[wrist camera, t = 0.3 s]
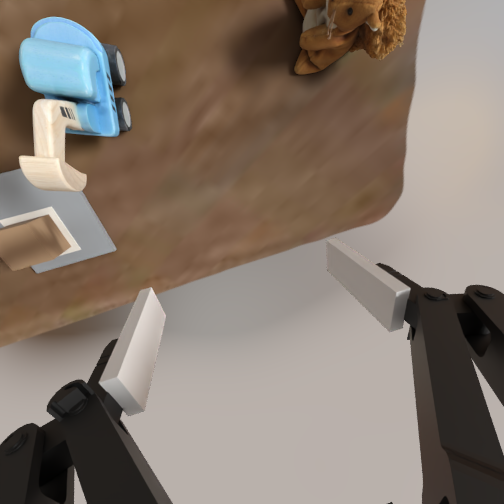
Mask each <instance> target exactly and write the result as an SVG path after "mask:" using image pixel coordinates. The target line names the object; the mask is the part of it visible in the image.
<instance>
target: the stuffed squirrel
mask: <svg viewBox="0 0 504 504" xmlns="http://www.w3.org/2000/svg"><path fill="white" fill-rule="evenodd" d="M405 1H406V0H295V2H296V4H297V6H298V8H299V10H300V12H301V14H302V16H303V17H304V22H303V33H302V34H301V36H300V43H299V44H300V47H301V48H303V49H302V51H301V53H300V55H299V57H298V59H297V62H296V65H295V68H294V70H295V72H296V73H297V74H301V75H302V74H309V73H314V72H318V71H321V70H323V69H325V68H326V67H327V66H329V65H330V64H332V63H333V62H334V61H336V60H337V59H339V58H340V57H341V56H343V55H344V54H345V53H346V52H347V51H350V52H354V51H355V50H357V51H358V50H359V49H364V50H366V53H367V54H369V55H370V57H371V58H376V59H377V60H379V61H380V60H381V59H382V60H383V58H385V56H386V55H388V54H389V53H390V52H391V51H394V48H396V47H395V46H396V45H397V44H399V47H401V45H403V43H402V41H403V40H404V38H403V37H404V35H405V33H406V32H405V31H406V30H405V29H406V26H405V24H406V22H405V19H406V15H407V13H406V12H407V11H406V9H405V8H406V6H405V5H404V3H405Z"/></svg>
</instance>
